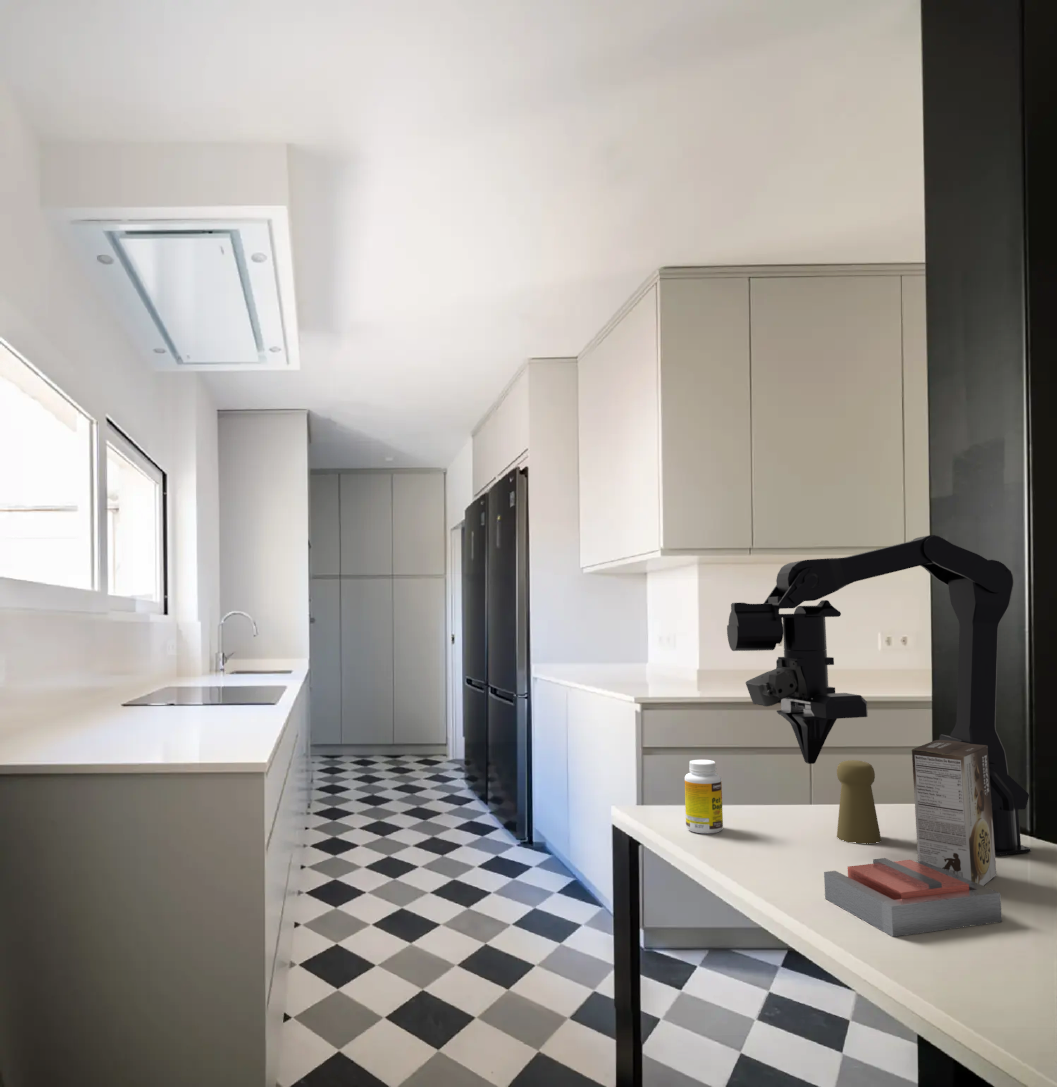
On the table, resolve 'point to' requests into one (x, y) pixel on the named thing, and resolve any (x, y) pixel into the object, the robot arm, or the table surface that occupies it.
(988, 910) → the tray
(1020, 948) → the table surface
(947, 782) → the coffee box
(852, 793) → the olive tapered upright piece
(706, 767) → the supplement bottle
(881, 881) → the block
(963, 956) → the table surface
